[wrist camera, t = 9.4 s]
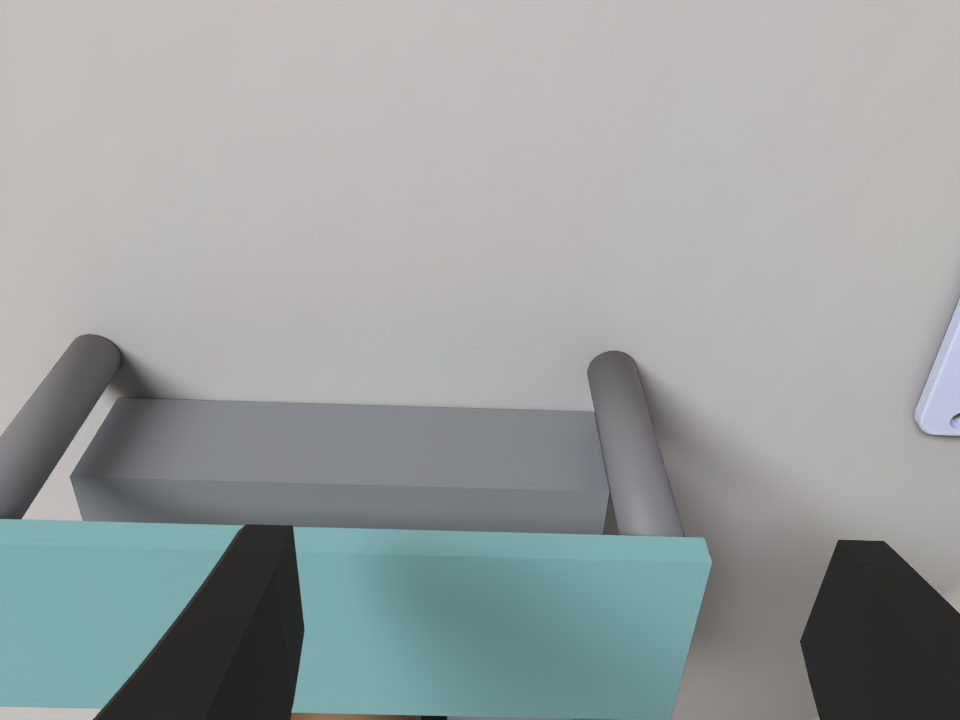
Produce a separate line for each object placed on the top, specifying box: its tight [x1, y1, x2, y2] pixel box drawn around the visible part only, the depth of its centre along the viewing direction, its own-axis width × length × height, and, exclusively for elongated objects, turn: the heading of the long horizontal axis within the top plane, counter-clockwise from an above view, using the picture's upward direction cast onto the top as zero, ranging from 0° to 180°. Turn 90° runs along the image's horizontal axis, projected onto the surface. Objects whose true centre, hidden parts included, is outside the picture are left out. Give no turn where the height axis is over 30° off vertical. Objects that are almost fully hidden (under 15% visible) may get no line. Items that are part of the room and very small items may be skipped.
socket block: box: [70, 398, 610, 720], centre depth 23 cm, size 12×12×3 cm
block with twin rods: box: [0, 334, 712, 720], centre depth 19 cm, size 14×4×7 cm, turn 88°
